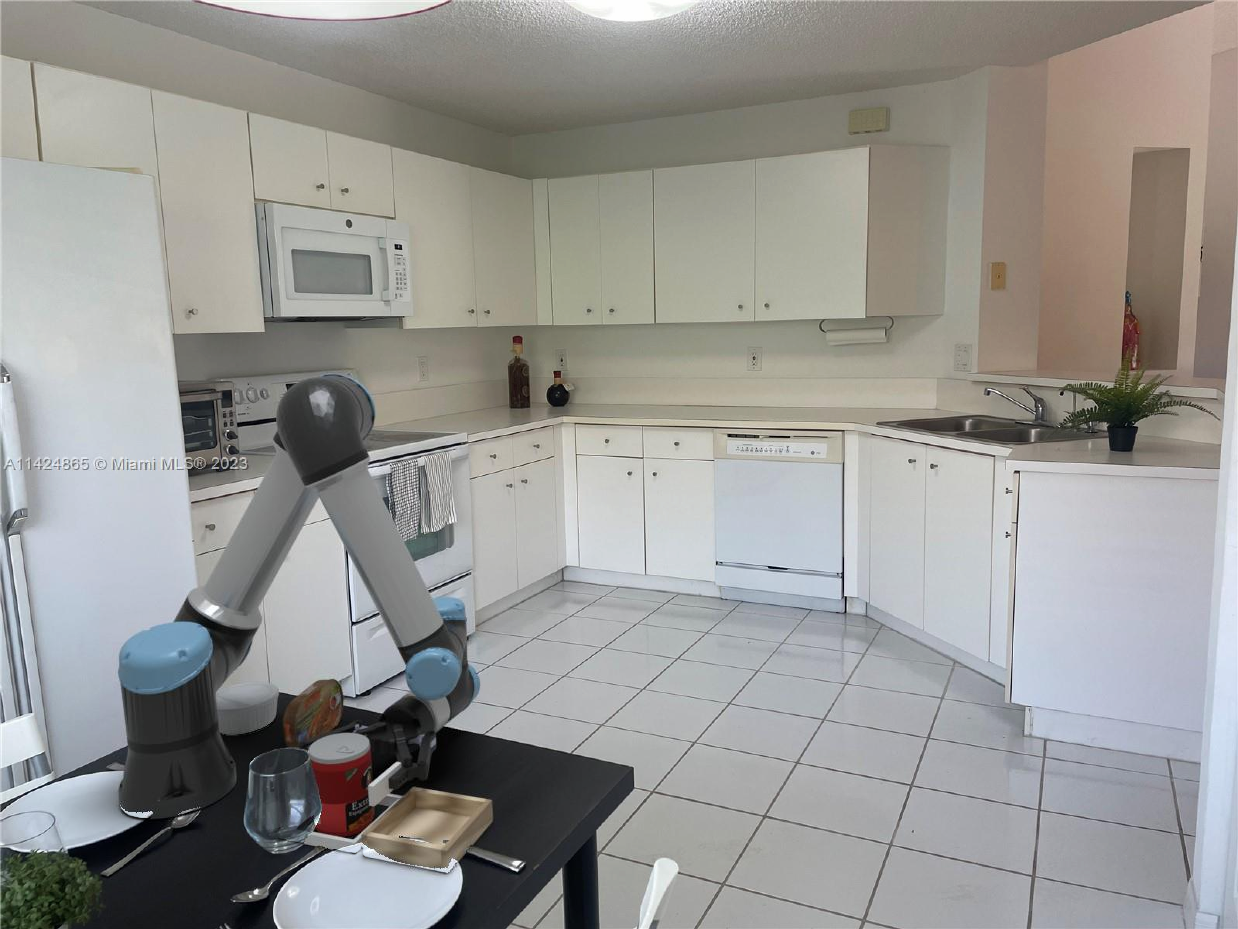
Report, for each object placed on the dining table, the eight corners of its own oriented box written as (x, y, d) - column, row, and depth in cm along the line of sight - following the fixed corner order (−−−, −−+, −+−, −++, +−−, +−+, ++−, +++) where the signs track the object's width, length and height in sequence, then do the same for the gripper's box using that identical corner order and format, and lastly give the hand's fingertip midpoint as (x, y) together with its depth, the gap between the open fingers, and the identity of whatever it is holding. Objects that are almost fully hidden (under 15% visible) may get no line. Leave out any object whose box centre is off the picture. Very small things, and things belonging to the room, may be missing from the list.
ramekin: (196, 740, 142) (193, 709, 141) (225, 711, 153) (223, 682, 152) (266, 738, 142) (263, 707, 141) (290, 709, 153) (287, 680, 152)
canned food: (358, 841, 112) (352, 761, 110) (301, 835, 114) (295, 756, 112) (385, 810, 119) (380, 734, 118) (332, 804, 121) (326, 730, 119)
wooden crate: (362, 856, 109) (361, 834, 108) (414, 807, 120) (413, 786, 119) (447, 873, 105) (446, 851, 104) (493, 821, 116) (492, 800, 116)
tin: (300, 760, 134) (295, 709, 133) (281, 759, 135) (277, 707, 133) (346, 718, 149) (343, 671, 147) (329, 717, 149) (326, 670, 148)
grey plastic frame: (279, 839, 113) (278, 828, 113) (335, 794, 124) (334, 784, 124) (355, 854, 109) (354, 843, 109) (406, 806, 120) (405, 796, 120)
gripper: (489, 753, 129) (411, 830, 109) (346, 732, 137) (249, 800, 117) (486, 705, 128) (408, 774, 108) (343, 686, 136) (245, 748, 116)
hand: (325, 788), depth 112 cm, fingers open, 13 cm apart
